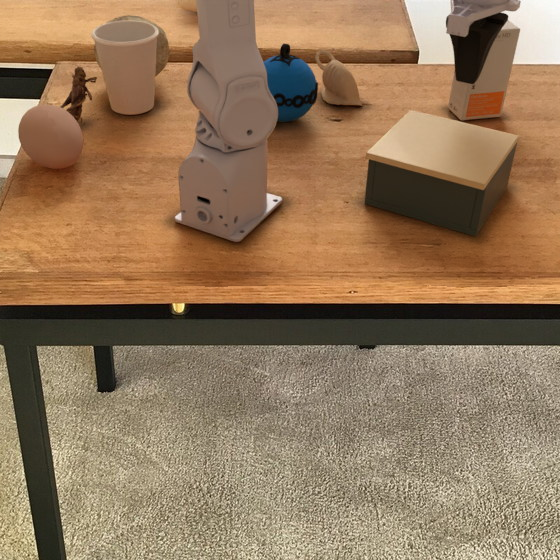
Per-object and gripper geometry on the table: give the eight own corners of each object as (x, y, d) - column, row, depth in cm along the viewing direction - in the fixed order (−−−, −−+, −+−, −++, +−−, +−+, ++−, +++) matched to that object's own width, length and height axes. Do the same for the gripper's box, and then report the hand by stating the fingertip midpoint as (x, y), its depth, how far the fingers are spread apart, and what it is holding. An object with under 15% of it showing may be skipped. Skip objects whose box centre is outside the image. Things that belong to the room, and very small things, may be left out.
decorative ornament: (336, 111, 103) (338, 73, 100) (309, 87, 109) (311, 50, 106) (363, 107, 104) (366, 68, 101) (335, 83, 110) (337, 46, 107)
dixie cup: (158, 120, 99) (152, 44, 93) (94, 117, 100) (83, 41, 94) (169, 93, 106) (163, 20, 100) (108, 91, 106) (99, 18, 100)
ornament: (270, 100, 105) (271, 27, 99) (327, 114, 102) (331, 40, 96) (238, 124, 99) (237, 48, 93) (297, 140, 96) (300, 62, 90)
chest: (475, 237, 80) (486, 188, 76) (364, 204, 84) (368, 156, 81) (507, 187, 88) (517, 141, 84) (403, 160, 92) (409, 115, 89)
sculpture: (107, 93, 109) (83, 37, 100) (107, 75, 111) (83, 19, 102) (177, 79, 108) (159, 22, 100) (176, 62, 110) (158, 5, 102)
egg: (11, 151, 92) (39, 188, 85) (5, 97, 88) (34, 131, 81) (66, 141, 95) (97, 176, 89) (63, 89, 91) (95, 121, 85)
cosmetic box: (461, 122, 101) (477, 31, 94) (447, 108, 104) (461, 20, 97) (502, 117, 102) (521, 28, 95) (487, 104, 106) (504, 16, 98)
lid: (483, 190, 75) (484, 184, 75) (365, 158, 80) (366, 152, 80) (517, 141, 84) (519, 135, 84) (409, 115, 89) (410, 109, 89)
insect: (66, 133, 100) (44, 124, 95) (77, 68, 100) (56, 56, 95) (96, 137, 99) (76, 128, 94) (107, 71, 99) (88, 59, 94)
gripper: (508, -25, 71) (481, 112, 79) (546, -59, 81) (519, 66, 89) (435, -36, 74) (417, 97, 82) (481, -68, 84) (461, 54, 92)
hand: (466, 80), depth 86 cm, fingers closed
